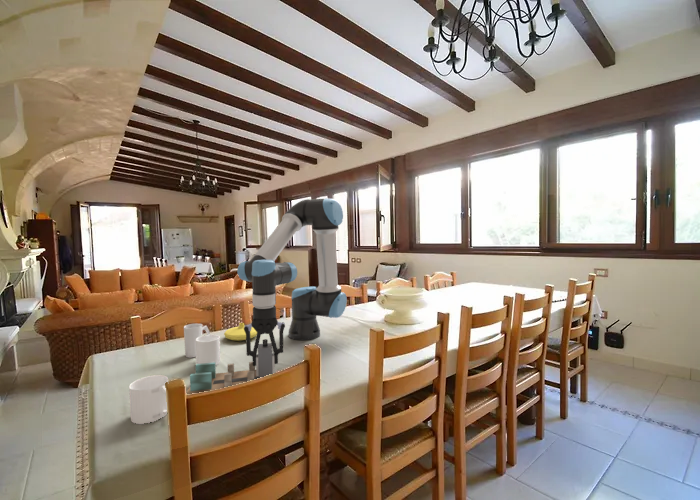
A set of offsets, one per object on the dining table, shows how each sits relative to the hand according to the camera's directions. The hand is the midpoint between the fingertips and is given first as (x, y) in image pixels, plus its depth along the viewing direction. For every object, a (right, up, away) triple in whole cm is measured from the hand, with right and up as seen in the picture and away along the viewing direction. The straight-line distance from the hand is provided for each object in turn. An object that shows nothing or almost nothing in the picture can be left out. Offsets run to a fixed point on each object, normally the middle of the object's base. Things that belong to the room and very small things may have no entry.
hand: (265, 373), depth 111 cm
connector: (0, 0, 0) cm, 0 cm away
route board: (-10, -2, -2) cm, 11 cm away
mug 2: (-34, -1, +24) cm, 42 cm away
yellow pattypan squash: (-22, 0, +43) cm, 49 cm away
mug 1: (-25, -4, -21) cm, 33 cm away
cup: (-27, -2, +14) cm, 30 cm away
